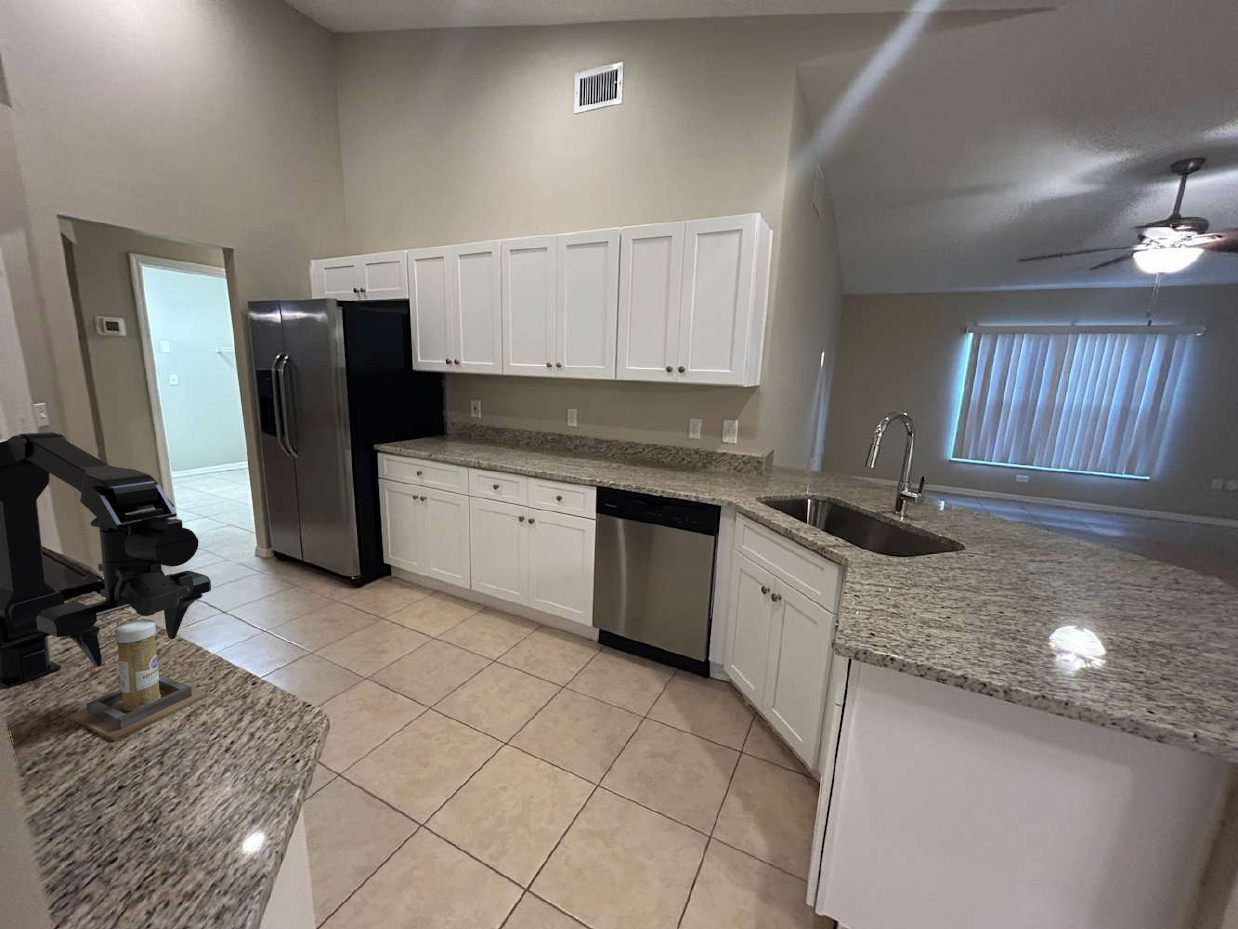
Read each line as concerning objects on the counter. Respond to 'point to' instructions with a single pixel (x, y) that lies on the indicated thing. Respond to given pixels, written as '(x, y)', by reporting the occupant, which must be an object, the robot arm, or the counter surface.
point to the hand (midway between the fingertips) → (136, 651)
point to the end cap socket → (120, 723)
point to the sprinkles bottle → (138, 663)
